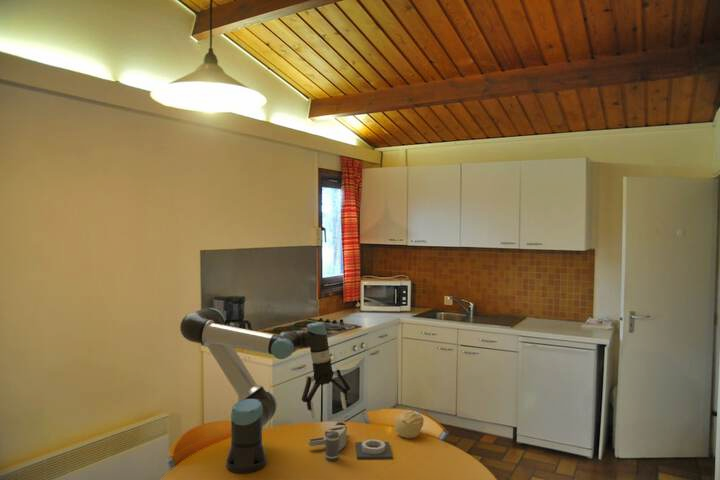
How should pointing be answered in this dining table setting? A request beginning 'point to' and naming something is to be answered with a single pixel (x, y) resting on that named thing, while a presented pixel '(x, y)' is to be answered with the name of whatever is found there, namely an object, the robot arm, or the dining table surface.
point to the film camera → (338, 428)
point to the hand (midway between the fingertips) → (329, 413)
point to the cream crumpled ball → (409, 424)
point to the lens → (332, 445)
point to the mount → (373, 450)
